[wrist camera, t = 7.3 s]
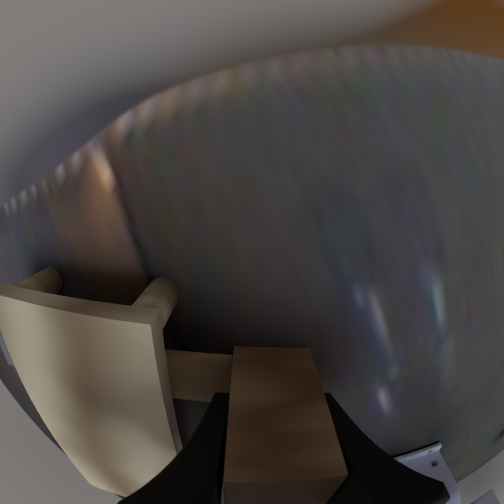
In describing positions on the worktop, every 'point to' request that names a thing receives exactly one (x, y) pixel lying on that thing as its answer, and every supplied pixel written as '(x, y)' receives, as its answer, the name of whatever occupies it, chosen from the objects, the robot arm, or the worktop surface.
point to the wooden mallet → (267, 422)
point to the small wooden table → (97, 376)
